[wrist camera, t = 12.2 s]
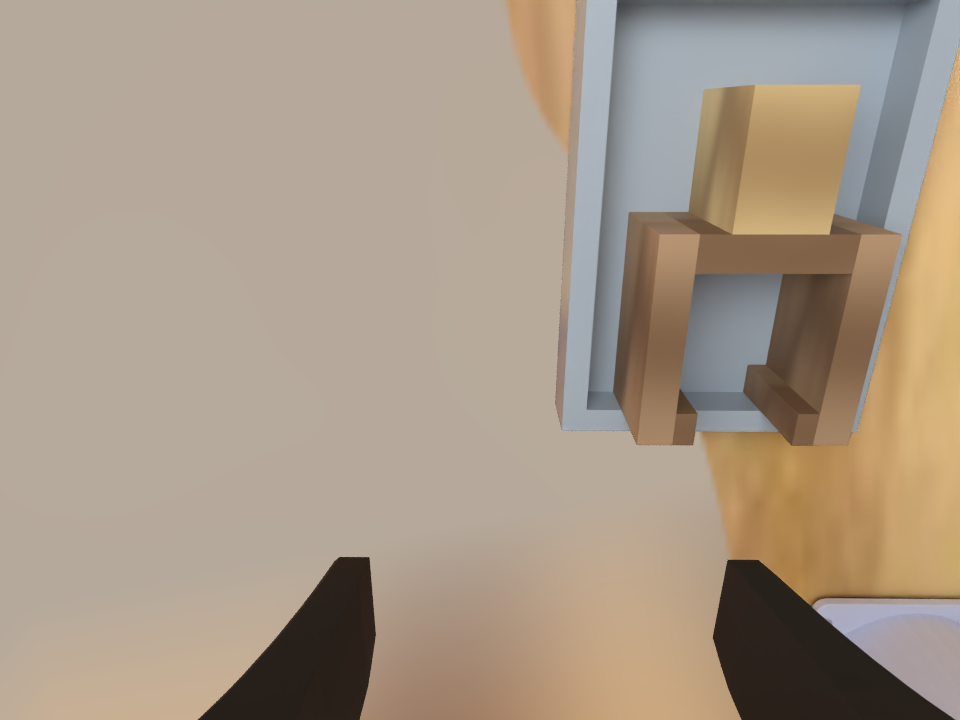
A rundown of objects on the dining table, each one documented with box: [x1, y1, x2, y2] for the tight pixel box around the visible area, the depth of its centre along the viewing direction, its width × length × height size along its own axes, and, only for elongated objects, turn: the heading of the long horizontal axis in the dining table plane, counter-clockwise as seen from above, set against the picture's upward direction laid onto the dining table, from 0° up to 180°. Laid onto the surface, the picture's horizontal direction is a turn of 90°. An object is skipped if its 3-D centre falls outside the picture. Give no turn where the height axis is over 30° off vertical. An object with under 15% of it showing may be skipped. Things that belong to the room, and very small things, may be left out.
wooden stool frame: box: [613, 85, 902, 446], centre depth 17 cm, size 9×6×4 cm, turn 0°
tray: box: [555, 0, 960, 432], centre depth 18 cm, size 13×10×2 cm
